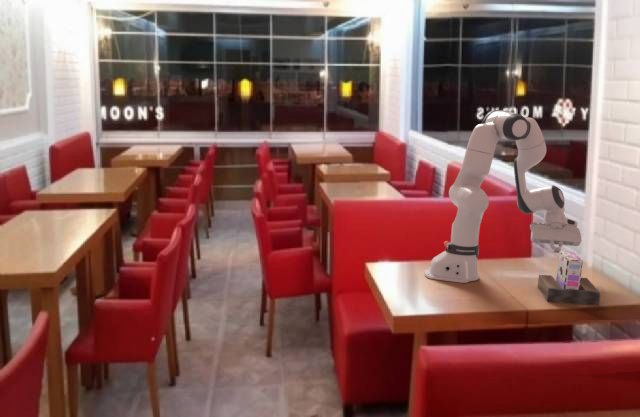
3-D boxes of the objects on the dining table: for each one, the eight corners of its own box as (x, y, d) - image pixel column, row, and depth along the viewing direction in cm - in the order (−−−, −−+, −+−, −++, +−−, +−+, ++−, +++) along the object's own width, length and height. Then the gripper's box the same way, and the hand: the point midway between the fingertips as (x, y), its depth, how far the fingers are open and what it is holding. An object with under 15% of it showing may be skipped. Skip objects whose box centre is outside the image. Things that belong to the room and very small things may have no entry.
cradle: (547, 301, 255) (548, 288, 254) (537, 286, 273) (538, 274, 272) (598, 305, 253) (600, 292, 252) (585, 289, 271) (586, 278, 270)
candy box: (578, 302, 255) (583, 260, 252) (562, 301, 256) (567, 259, 253) (569, 291, 269) (574, 251, 266) (554, 290, 269) (558, 250, 266)
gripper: (531, 218, 288) (532, 245, 281) (581, 222, 286) (583, 250, 278) (528, 226, 293) (529, 253, 286) (577, 230, 291) (579, 258, 284)
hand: (556, 252), depth 282 cm, fingers closed
